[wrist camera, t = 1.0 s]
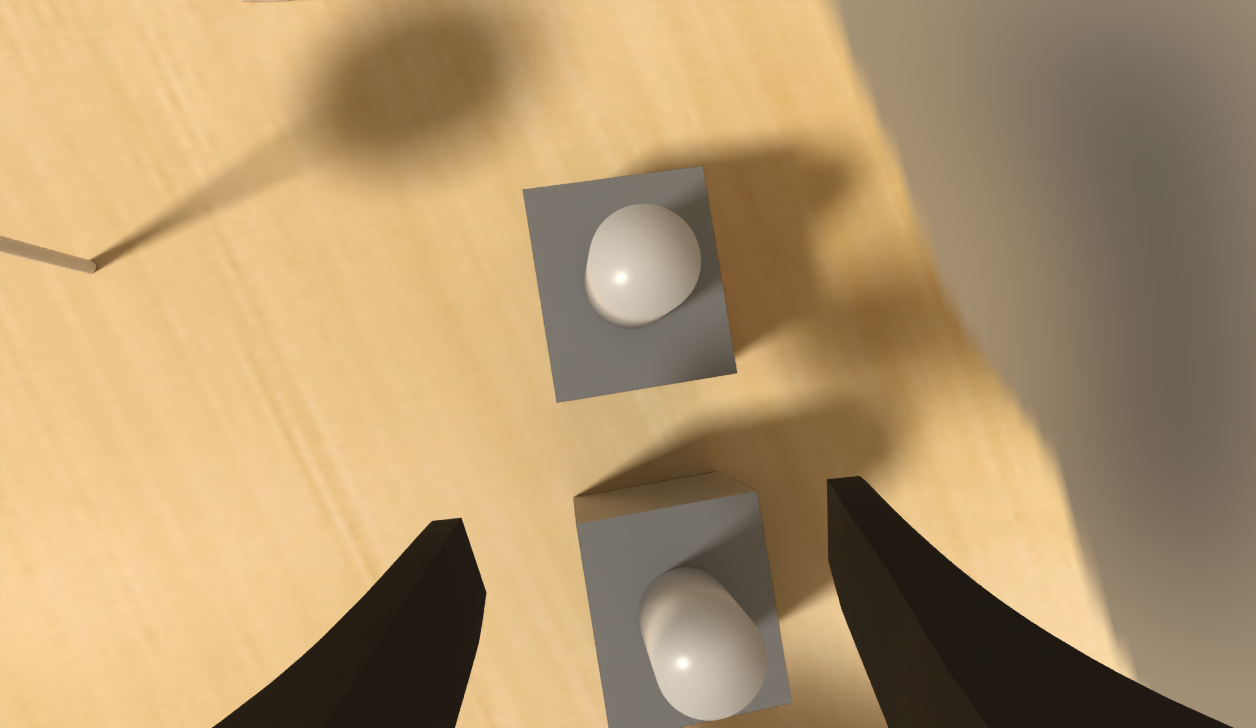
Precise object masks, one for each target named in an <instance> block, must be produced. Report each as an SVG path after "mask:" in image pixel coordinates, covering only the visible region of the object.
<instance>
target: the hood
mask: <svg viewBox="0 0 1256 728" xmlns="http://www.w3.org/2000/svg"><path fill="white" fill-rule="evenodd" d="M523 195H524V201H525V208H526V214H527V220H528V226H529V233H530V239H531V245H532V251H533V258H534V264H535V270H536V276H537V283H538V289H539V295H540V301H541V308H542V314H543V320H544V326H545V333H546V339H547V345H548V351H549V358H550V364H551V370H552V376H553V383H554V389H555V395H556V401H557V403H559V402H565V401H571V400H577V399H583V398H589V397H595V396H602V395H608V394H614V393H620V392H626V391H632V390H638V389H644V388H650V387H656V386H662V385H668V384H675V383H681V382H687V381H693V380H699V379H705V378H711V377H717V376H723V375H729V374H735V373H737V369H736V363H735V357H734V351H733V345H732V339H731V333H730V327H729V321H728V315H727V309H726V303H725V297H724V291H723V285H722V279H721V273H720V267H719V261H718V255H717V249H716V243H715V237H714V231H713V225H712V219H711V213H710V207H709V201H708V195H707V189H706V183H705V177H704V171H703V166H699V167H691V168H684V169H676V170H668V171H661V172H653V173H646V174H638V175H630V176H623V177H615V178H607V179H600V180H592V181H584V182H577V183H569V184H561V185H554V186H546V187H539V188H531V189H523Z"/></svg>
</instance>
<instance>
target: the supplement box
mask: <svg viewBox="0 0 1256 728" xmlns="http://www.w3.org/2000/svg"><path fill="white" fill-rule="evenodd" d="M240 1H241V2H248V1H250V2H261V1H287V0H240Z"/></svg>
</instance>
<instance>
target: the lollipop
mask: <svg viewBox="0 0 1256 728" xmlns="http://www.w3.org/2000/svg"><path fill="white" fill-rule="evenodd" d="M0 252H2V253H6V254H10V255H15V256H19V257H23V258H27V259H31V260H35V261H39V262H43V263H47V264H51V265H55V266H59V267H63V268H67V269H71V270H75V271H79V272H83V273H87V274H91V273H93V272H94V271H95V270H96V264H95V263H94V262H93V261H90V260H86V259H83V258H79V257H75V256H72V255H68V254H64V253H61V252H57V251H54V250H50V249H46V248H43V247H39V246H35V245H32V244H28V243H24V242H21V241H17V240H14V239H10V238H6V237H3V236H0Z"/></svg>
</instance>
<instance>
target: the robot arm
mask: <svg viewBox="0 0 1256 728" xmlns="http://www.w3.org/2000/svg"><path fill="white" fill-rule="evenodd" d="M827 507H828V560H829V564H830V568H831V572H832V576H833V580H834V583H835V587H836V591H837V594H838V598H839V602H840V605H841V609H842V612H843V614H844V617H845V619H846V622H847V625H848V627H849V630H850V632H851V635H852V637H853V640H854V642H855V645H856V647H857V650H858V652H859V655H860V657H861V660H862V662H863V665H864V667H865V670H866V672H867V675H868V677H869V680H870V682H871V685H872V687H873V690H874V692H875V695H876V697H877V700H878V702H879V705H880V707H881V710H882V712H883V715H884V717H885V720H886V722H887V725H888V728H1233V727H1231V726H1228V725H1226V724H1224V723H1222V722H1220V721H1217V720H1215V719H1213V718H1210V717H1208V716H1206V715H1204V714H1202V713H1199V712H1197V711H1195V710H1193V709H1190V708H1188V707H1186V706H1184V705H1182V704H1180V703H1177V702H1175V701H1173V700H1171V699H1169V698H1167V697H1165V696H1162V695H1160V694H1159V693H1157V692H1155V691H1153V690H1151V689H1149V688H1147V687H1145V686H1143V685H1141V684H1139V683H1137V682H1135V681H1133V680H1131V679H1129V678H1127V677H1125V676H1123V675H1122V674H1120V673H1118V672H1116V671H1114V670H1112V669H1110V668H1109V667H1107V666H1105V665H1103V664H1101V663H1099V662H1098V661H1096V660H1094V659H1092V658H1090V657H1089V656H1087V655H1085V654H1084V653H1082V652H1080V651H1079V650H1077V649H1075V648H1074V647H1072V646H1070V645H1069V644H1067V643H1065V642H1063V641H1062V640H1060V639H1058V638H1057V637H1055V636H1053V635H1052V634H1050V633H1048V632H1047V631H1045V630H1044V629H1042V628H1041V627H1039V626H1037V625H1036V624H1034V623H1033V622H1031V621H1030V620H1028V619H1027V618H1025V617H1024V616H1022V615H1021V614H1019V613H1018V612H1016V611H1015V610H1014V609H1012V608H1011V607H1009V606H1008V605H1006V604H1005V603H1003V602H1002V601H1001V600H999V599H998V598H996V597H995V596H994V595H992V594H991V593H990V592H988V591H987V590H986V589H984V588H983V587H982V586H981V585H979V584H978V583H977V582H975V581H974V580H973V579H972V578H970V577H969V576H968V575H967V574H965V573H964V572H963V571H962V570H961V569H959V568H958V567H957V566H956V565H954V564H953V563H952V562H951V561H950V560H948V559H947V558H946V557H945V556H944V555H943V554H941V553H940V552H939V551H938V550H937V549H936V548H935V547H934V546H932V545H931V544H930V543H929V542H928V541H927V540H926V539H925V538H924V537H922V536H921V535H920V534H919V533H918V532H917V531H916V530H915V529H914V528H913V527H911V526H910V525H909V524H908V523H907V522H906V521H905V520H904V519H903V518H902V517H901V516H900V515H899V514H898V513H897V512H896V511H895V510H894V509H893V508H892V507H891V506H890V505H889V504H888V503H887V502H886V501H885V500H884V499H883V498H882V497H881V496H880V495H879V494H878V493H877V492H876V491H875V490H874V489H873V488H872V487H871V486H870V485H869V484H868V483H867V482H866V481H865V480H864V479H863V478H862V477H860V476H855V477H845V478H836V479H827ZM485 599H486V590H485V587H484V584H483V581H482V578H481V575H480V572H479V569H478V566H477V563H476V560H475V557H474V554H473V551H472V548H471V545H470V542H469V539H468V536H467V533H466V530H465V527H464V524H463V521H462V518H455V519H446V520H436V521H432V522H431V523H430V524H429V525H428V526H427V527H426V528H425V529H424V530H423V531H422V532H421V533H420V534H419V536H418V537H417V538H416V539H415V540H414V541H413V542H412V543H411V544H410V546H409V547H408V548H407V549H406V550H405V551H404V552H403V553H402V555H401V556H400V557H399V558H398V559H397V560H396V561H395V562H394V563H393V565H392V566H391V567H390V568H389V569H388V570H387V571H386V572H385V573H384V574H383V576H382V577H381V578H380V579H379V580H378V581H377V582H376V583H375V584H374V585H373V586H372V588H371V589H370V590H369V591H368V592H367V593H366V594H365V595H364V596H363V597H362V598H361V599H360V600H359V601H358V602H357V603H356V604H355V605H354V606H353V607H352V608H351V609H350V610H349V611H348V612H347V613H346V614H345V615H344V616H343V617H342V618H341V619H340V620H339V621H338V622H337V623H336V624H335V625H334V626H333V627H332V628H331V629H330V630H329V631H328V632H327V633H326V634H325V635H324V636H323V637H322V638H321V639H320V640H319V641H318V642H317V643H316V644H315V645H314V646H313V647H312V648H310V649H309V650H308V651H307V652H306V653H305V654H304V655H303V656H302V657H300V658H299V659H298V660H297V661H296V662H295V663H294V664H292V665H291V666H290V667H289V668H288V669H287V670H285V671H284V672H283V673H282V674H281V675H280V676H278V677H277V678H276V679H275V680H274V681H272V682H271V683H270V684H269V685H267V686H266V687H265V688H264V689H262V690H261V691H260V692H258V693H257V694H256V695H255V696H253V697H252V698H251V699H249V700H248V701H247V702H245V703H244V704H243V705H241V706H240V707H239V708H238V709H236V710H235V711H234V712H232V713H231V714H230V715H228V716H227V717H226V718H224V719H223V720H222V721H221V722H219V723H218V724H216V725H215V726H214V727H212V728H455V726H456V722H457V719H458V715H459V712H460V708H461V705H462V701H463V698H464V694H465V691H466V687H467V684H468V680H469V677H470V673H471V670H472V666H473V662H474V659H475V655H476V651H477V648H478V644H479V639H480V633H481V627H482V621H483V614H484V607H485Z"/></svg>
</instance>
